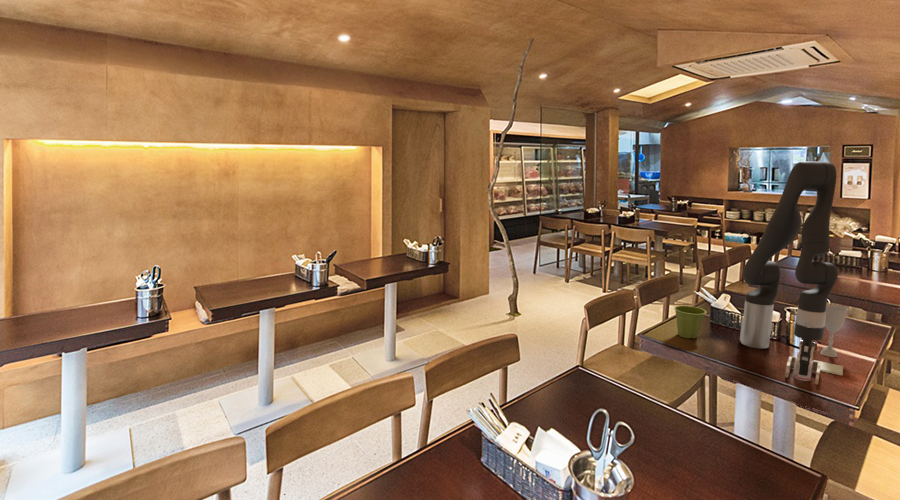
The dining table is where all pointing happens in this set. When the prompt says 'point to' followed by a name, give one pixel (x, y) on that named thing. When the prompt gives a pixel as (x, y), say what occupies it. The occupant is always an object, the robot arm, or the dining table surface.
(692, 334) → the plant pot
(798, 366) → the pill bottle
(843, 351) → the dining table surface
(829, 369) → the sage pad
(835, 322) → the chalice
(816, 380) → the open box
